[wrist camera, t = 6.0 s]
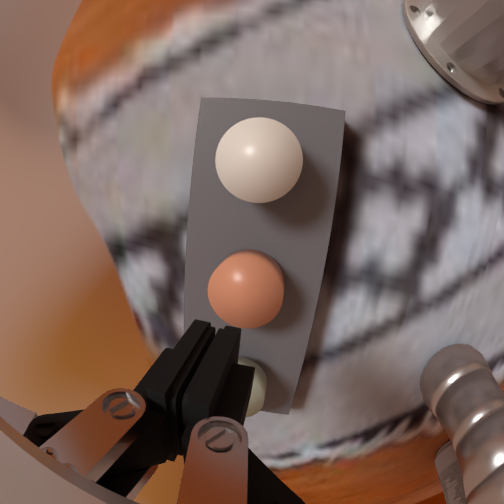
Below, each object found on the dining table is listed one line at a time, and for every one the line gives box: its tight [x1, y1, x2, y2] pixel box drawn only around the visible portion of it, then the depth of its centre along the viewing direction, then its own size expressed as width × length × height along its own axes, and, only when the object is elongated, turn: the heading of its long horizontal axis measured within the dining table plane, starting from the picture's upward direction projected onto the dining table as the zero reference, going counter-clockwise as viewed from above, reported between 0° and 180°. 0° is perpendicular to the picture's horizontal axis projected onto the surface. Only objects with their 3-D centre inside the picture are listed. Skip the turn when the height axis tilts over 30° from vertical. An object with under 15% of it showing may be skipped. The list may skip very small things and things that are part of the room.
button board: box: [184, 98, 345, 415], centre depth 19 cm, size 9×23×2 cm, turn 173°
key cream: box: [215, 117, 303, 203], centre depth 15 cm, size 4×4×2 cm
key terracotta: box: [208, 249, 285, 328], centre depth 17 cm, size 4×4×2 cm
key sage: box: [238, 357, 267, 417], centre depth 18 cm, size 4×4×2 cm
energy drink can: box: [434, 440, 467, 504], centre depth 15 cm, size 6×6×15 cm
